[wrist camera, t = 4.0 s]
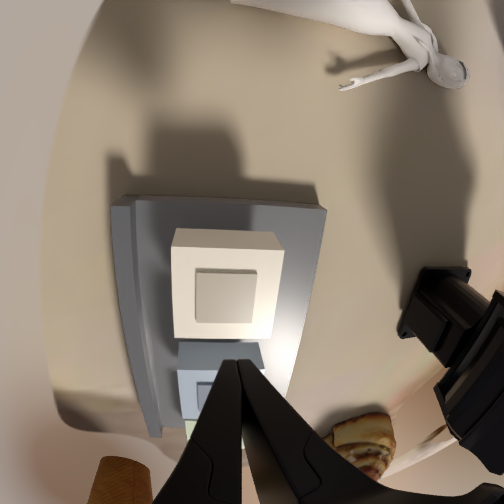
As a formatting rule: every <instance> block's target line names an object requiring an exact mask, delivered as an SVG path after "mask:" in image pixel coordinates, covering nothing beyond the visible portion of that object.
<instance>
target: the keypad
mask: <svg viewBox="0 0 504 504" xmlns="http://www.w3.org/2000/svg"><path fill="white" fill-rule="evenodd" d="M110 210H111V229H112V243H113V255H114V265H115V274H116V282H117V290H118V298H119V304H120V311H121V317H122V323H123V329H124V334H125V340H126V345H127V350H128V355H129V359H130V364H131V368H132V373H133V377H134V381H135V385H136V389H137V393H138V397H139V401H140V404H141V408H142V412H143V415H144V418H145V422H146V425H147V428H148V432H149V435H150V437H158V438H162V427H176V428H186V426H185V419H183V418H182V411H181V402H180V394H179V384H178V374H177V364H178V350H179V342H215V343H239V342H258V343H259V347H260V351H261V355H262V359H263V363H264V367H265V373H264V376H265V377H266V378H267V379H268V380H269V382H270V383H271V384H272V385H273V386H274V387H275V388H276V389H277V391H278V392H279V393H280V394H281V395H282V396H283V397H284V398H285V397H286V393H287V389H288V386H289V382H290V378H291V375H292V371H293V367H294V363H295V359H296V355H297V352H298V348H299V344H300V339H301V335H302V331H303V327H304V323H305V318H306V314H307V310H308V305H309V301H310V296H311V292H312V287H313V282H314V277H315V272H316V268H317V263H318V257H319V252H320V247H321V242H322V236H323V231H324V225H325V219H326V214H327V210H326V209H325V208H323V207H322V206H321V205H318V204H307V203H295V202H282V201H269V200H254V199H237V198H217V197H193V196H157V195H123V196H122V197H121V198H119V199H118V200H117V201H116V202H115V203H113V204H112V205H111V206H110ZM176 228H189V229H216V230H241V231H263V232H273V233H274V234H275V236H276V237H277V239H278V241H279V242H280V244H281V246H282V247H283V249H284V250H285V251H284V258H283V265H282V271H281V278H280V284H279V290H278V297H277V303H276V309H275V315H274V321H273V327H272V333H271V338H257V339H201V338H174V322H173V303H172V274H171V245H172V242H173V238H174V235H175V231H176Z"/></svg>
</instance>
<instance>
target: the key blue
mask: <svg viewBox="0 0 504 504" xmlns="http://www.w3.org/2000/svg"><path fill="white" fill-rule="evenodd" d="M224 359H235V360H236V361H237V359H250V360H251V361H252V362H253V363H254V364H255V365H256V366H257V368H258V369H259V370H260V371H261V372H262V373H263V375H264V373H265V367H264V363H263V359H262V355H261V351H260V347H259V343H258V342H239V343H215V342H179V350H178V364H177V374H178V384H179V394H180V402H181V411H182V418H183V419H198V417H199V415H200V412H201V410H202V408H203V405H204V403H205V401H206V398H207V396H208V394H209V391H210V389H211V386H212V384H213V382H214V379H215V377H216V375H217V372H218V370H219V367H220V365H221V363H222V360H224Z"/></svg>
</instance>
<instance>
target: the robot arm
mask: <svg viewBox="0 0 504 504" xmlns="http://www.w3.org/2000/svg"><path fill="white" fill-rule="evenodd" d="M425 274H426V275H425ZM470 276H471V269H469V268H468V267H424V268H423V269H422V270H421V271H420V274H419V277H418V280H417V283H416V286H415V289H414V292H413V294H412V297H411V300H410V303H409V305H408V308H407V311H406V313H405V316H404V318H403V321H402V323H401V326H400V328H399V331H398V336H399V337H400V338H401V339H405V338H411V337H417V338H418V339H419V340H420V341H421V343H422V344H423V345H424V346H425V347H426V348H427V350H428V351H429V352H430V353H431V352H432V353H433V354H434V355H435V356H436V358H437V359H438V360H439V361H440V362H441V364H442V365H443V366H444V367H445V368H447V367H450V368H449V369H448V371H447V372H446V373H445V375H444V376H443V377H442V379H441V380H440V381H439V382H438V383H437V384H436V385H435V386H434V387H433V389H434V392H435V394H436V397H437V399H438V402H439V404H440V407H441V410H442V412H443V415H444V418H445V421H446V424H447V426H448V429H449V431H450V433H451V434H452V435H453V436H454V437H455V438H456V439H457V440H458V441H459V445H460V446H462V447H464V448H466V449H468V450H469V451H471V452H472V453H473V454H474V455H475V456H477V457H478V459H479V460H480V461H481V462H482V463H483V464H484V466H485V467H486V468H487V469H488V470H489V472H491V473H494V474H497V475H503V474H504V292H501V291H499V290H495V292H494V294H493V296H492V297H493V298H492V300H491V302H490V301H488V300H487V299H486V298H485V297H483V296H482V295H481V294H480V293H478V292H477V291H476V290H475V289H473V288H472V287H471V286H469V285H468V281H469V279H470ZM242 439H243V443H244V447H245V451H246V454H247V458H248V462H249V466H250V470H251V473H252V477H253V481H254V484H255V488H256V492H257V495H258V498H259V502H260V504H504V488H503V487H501V486H499V485H496V484H490V483H482V484H481V485H479V486H478V487H476V488H475V489H474V490H472V491H471V492H469V493H467V494H465V495H461V496H454V497H450V496H437V495H428V494H420V493H413V492H406V491H401V490H395V489H392V488H389V487H386V486H384V485H382V484H380V483H378V482H377V481H375V480H373V479H372V478H371V477H369V476H368V475H366V474H365V473H364V472H362V471H361V470H360V469H358V468H357V467H355V466H354V465H353V464H351V463H350V462H349V461H347V460H346V459H345V458H344V457H342V456H341V455H340V454H339V453H337V452H336V451H335V450H334V449H333V448H332V447H330V446H329V445H328V444H327V443H326V442H325V441H324V440H323V439H322V438H321V437H320V436H319V435H318V434H317V433H316V432H315V431H314V430H312V428H311V427H310V425H309V424H308V423H307V422H306V421H305V420H304V419H303V418H302V417H301V416H300V415H299V414H298V413H297V412H296V410H295V409H294V408H293V407H292V406H291V405H290V404H289V403H288V402H287V401H286V400H285V398H284V397H283V396H282V395H281V394H280V393H279V392H278V391H277V389H276V388H275V387H274V386H273V385H272V384H271V383H270V382H269V380H268V379H267V378H266V377H265V376H264V375H263V373H262V372H261V371H260V370H259V369H258V368H257V366H256V365H255V364H254V363H253V362H252V361H251V360H250V359H237V361H236V360H235V359H224V360H222V363H221V365H220V367H219V370H218V372H217V375H216V377H215V379H214V382H213V384H212V386H211V389H210V391H209V394H208V396H207V398H206V401H205V403H204V405H203V408H202V410H201V412H200V415H199V417H198V420H197V422H196V424H195V427H194V429H193V431H192V434H191V436H190V439H189V440H188V442H187V445H186V447H185V449H184V451H183V453H182V455H181V458H180V460H179V462H178V463H177V465H176V467H175V469H174V470H173V472H172V473H171V475H170V477H169V478H168V480H167V481H166V483H165V484H164V486H163V487H162V489H161V490H160V492H159V493H158V495H157V496H156V498H155V499H154V500H153V502H152V503H151V504H242Z"/></svg>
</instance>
